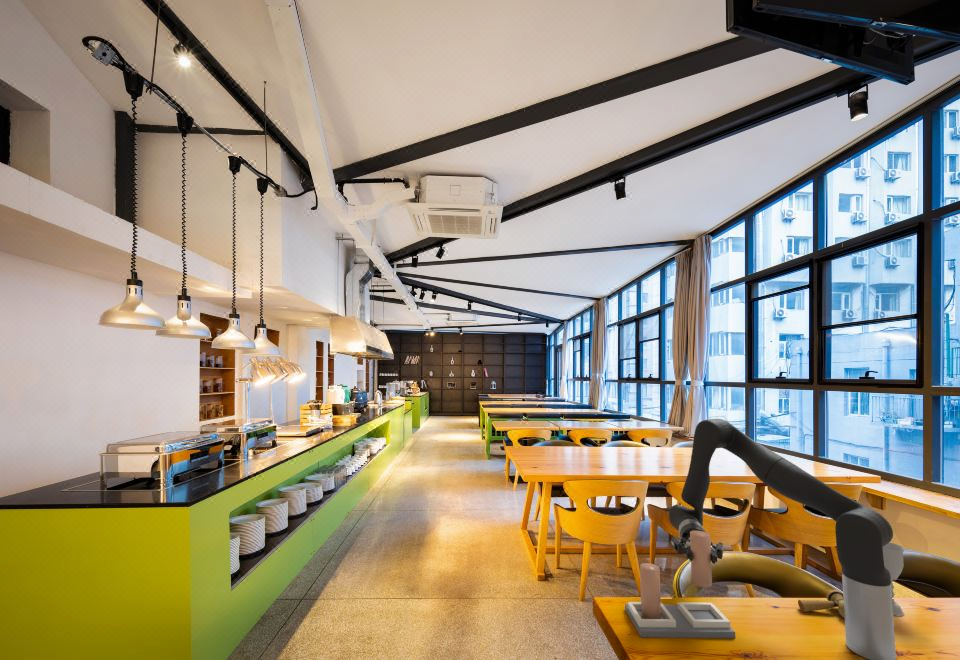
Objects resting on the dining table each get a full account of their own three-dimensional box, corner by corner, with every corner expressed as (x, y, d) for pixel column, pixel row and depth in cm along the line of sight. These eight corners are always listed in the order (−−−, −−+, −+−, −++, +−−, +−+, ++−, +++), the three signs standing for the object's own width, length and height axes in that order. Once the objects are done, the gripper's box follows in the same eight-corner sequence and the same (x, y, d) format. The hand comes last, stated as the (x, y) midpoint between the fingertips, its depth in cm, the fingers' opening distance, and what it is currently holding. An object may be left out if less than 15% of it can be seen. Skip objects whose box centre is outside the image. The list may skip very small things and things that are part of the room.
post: (699, 577, 126) (698, 529, 127) (716, 585, 122) (714, 535, 122) (687, 581, 124) (685, 532, 125) (703, 589, 119) (702, 538, 120)
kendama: (812, 625, 123) (883, 620, 122) (805, 599, 125) (875, 594, 123) (797, 615, 131) (864, 610, 129) (791, 591, 133) (856, 586, 131)
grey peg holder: (709, 610, 128) (707, 557, 129) (735, 637, 115) (733, 578, 116) (625, 609, 128) (623, 556, 129) (641, 637, 115) (639, 578, 116)
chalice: (883, 615, 126) (878, 548, 127) (870, 603, 132) (866, 539, 134) (915, 619, 124) (910, 551, 125) (900, 607, 130) (896, 542, 132)
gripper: (667, 520, 139) (673, 540, 123) (718, 525, 135) (732, 547, 119) (667, 545, 139) (673, 569, 122) (719, 551, 134) (733, 577, 118)
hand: (702, 558), depth 121 cm, fingers closed on post, 5 cm apart
